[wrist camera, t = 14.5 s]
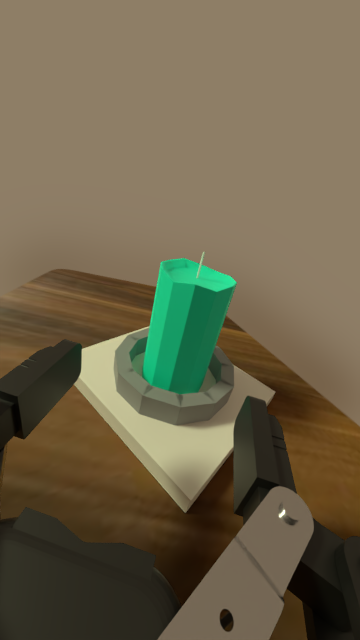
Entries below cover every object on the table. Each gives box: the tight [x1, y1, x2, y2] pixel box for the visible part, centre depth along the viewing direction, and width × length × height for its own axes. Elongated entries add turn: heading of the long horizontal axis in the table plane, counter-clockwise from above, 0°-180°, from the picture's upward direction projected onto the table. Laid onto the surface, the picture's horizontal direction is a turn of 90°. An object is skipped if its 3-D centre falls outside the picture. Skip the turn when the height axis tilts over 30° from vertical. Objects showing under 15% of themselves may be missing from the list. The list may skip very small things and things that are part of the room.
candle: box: [142, 252, 237, 394], centre depth 20 cm, size 6×6×12 cm
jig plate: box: [74, 326, 275, 513], centre depth 23 cm, size 16×14×4 cm
